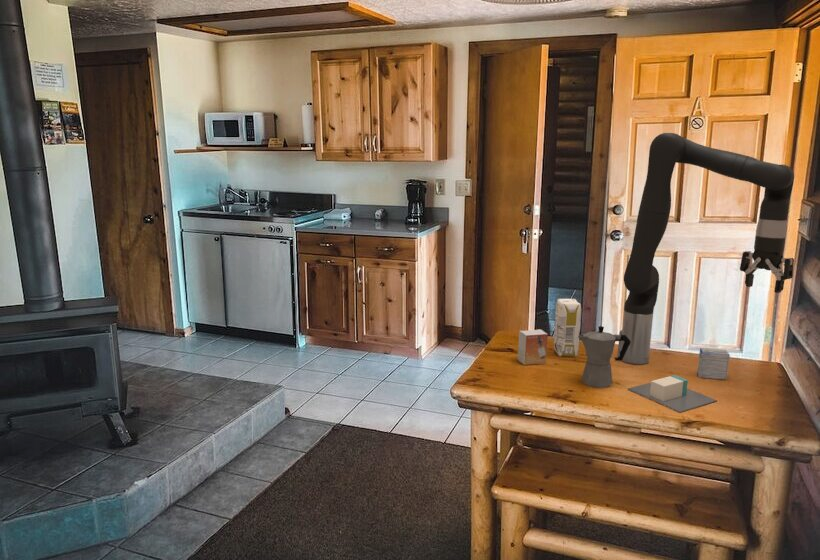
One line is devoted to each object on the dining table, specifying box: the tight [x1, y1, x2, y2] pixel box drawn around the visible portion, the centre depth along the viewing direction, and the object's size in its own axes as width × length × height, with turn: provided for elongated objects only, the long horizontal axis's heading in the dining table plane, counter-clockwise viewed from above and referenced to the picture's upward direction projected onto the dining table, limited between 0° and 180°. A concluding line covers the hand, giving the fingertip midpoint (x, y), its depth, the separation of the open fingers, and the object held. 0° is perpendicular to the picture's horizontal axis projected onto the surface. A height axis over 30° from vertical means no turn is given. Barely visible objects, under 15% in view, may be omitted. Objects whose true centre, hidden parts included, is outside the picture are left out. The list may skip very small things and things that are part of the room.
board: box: [627, 382, 718, 414], centre depth 176 cm, size 18×16×1 cm
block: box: [650, 374, 689, 401], centre depth 175 cm, size 4×4×10 cm
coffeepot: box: [578, 325, 630, 389], centre depth 183 cm, size 15×9×18 cm, turn 82°
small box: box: [517, 328, 549, 366], centre depth 201 cm, size 8×6×10 cm
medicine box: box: [697, 347, 731, 381], centre depth 190 cm, size 8×4×9 cm, turn 74°
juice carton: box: [553, 298, 582, 358], centre depth 209 cm, size 8×9×19 cm
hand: (763, 289), depth 177 cm, fingers open, 8 cm apart
